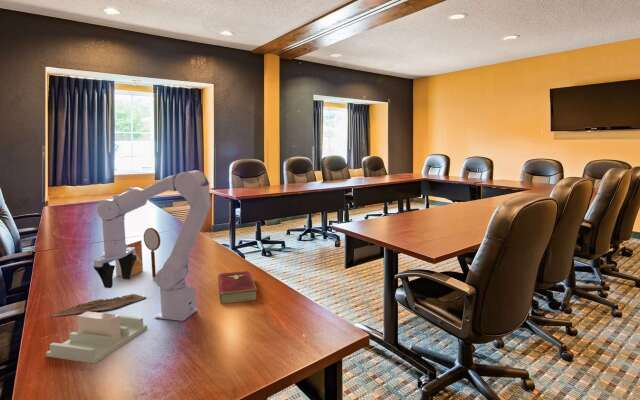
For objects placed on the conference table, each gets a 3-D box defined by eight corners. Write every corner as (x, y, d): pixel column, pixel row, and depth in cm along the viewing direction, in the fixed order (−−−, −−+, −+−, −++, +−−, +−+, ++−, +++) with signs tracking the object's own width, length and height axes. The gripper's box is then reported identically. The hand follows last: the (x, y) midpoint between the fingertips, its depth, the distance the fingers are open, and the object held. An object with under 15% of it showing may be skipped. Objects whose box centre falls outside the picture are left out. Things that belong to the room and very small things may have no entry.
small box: (129, 277, 150) (127, 244, 148) (115, 275, 151) (113, 243, 149) (143, 270, 157) (141, 239, 156) (130, 269, 159) (128, 238, 157)
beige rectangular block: (120, 336, 100) (119, 315, 99) (112, 342, 97) (110, 320, 96) (88, 332, 102) (86, 311, 102) (79, 338, 100) (77, 316, 99)
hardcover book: (220, 305, 124) (219, 292, 124) (218, 283, 144) (217, 272, 144) (257, 301, 127) (257, 289, 127) (250, 280, 147) (250, 269, 147)
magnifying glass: (163, 280, 146) (161, 228, 143) (159, 281, 144) (157, 229, 142) (148, 276, 150) (145, 226, 147) (144, 278, 149) (141, 227, 146)
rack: (147, 328, 107) (146, 317, 107) (95, 363, 90) (94, 351, 89) (104, 322, 110) (104, 312, 110) (46, 356, 93) (45, 344, 92)
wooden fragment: (144, 293, 133) (144, 290, 133) (148, 304, 124) (148, 301, 124) (54, 309, 120) (54, 306, 120) (51, 323, 111) (51, 319, 111)
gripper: (120, 233, 122) (122, 274, 124) (83, 244, 108) (87, 290, 110) (139, 234, 120) (142, 276, 122) (105, 245, 106) (108, 292, 108)
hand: (117, 283), depth 116 cm, fingers open, 7 cm apart
